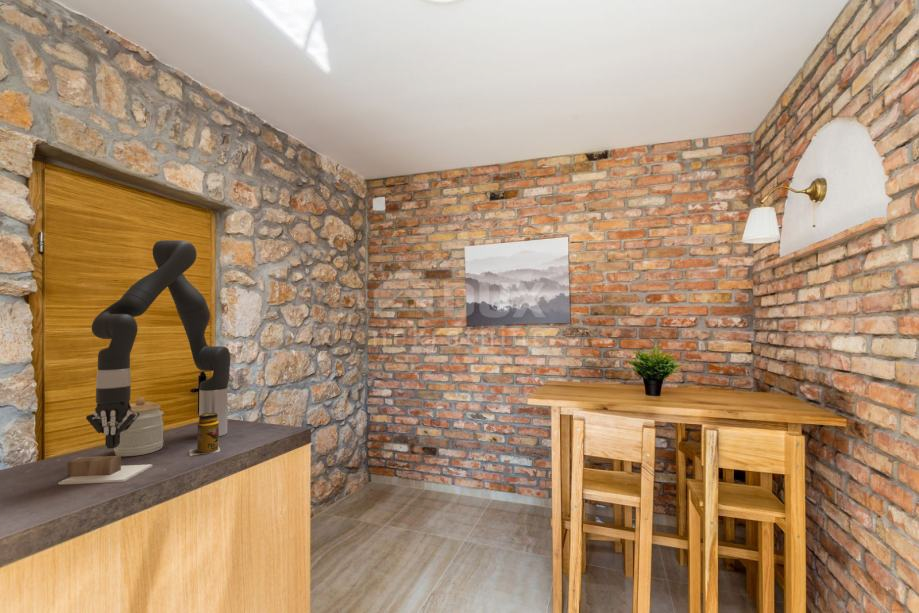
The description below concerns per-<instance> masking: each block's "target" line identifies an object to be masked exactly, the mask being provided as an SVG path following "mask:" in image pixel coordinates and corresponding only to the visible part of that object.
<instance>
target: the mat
mask: <svg viewBox="0 0 919 613" xmlns="http://www.w3.org/2000/svg"><path fill="white" fill-rule="evenodd" d="M150 468H153V464H133V465H131V464H130V465H121V470H120V471H118V472H116V473H114V474H111V475H99V476H73V477H67V478H65V479H62V480H60V481H58V485H79V484H80V485H81V484H102V483H103V484H104V483H123V482H126V481H128V480H130V479H132V478H133V477H135V476H137V475H140V474H141V473H143V472H145V471H147V470H149V469H150Z"/></svg>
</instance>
